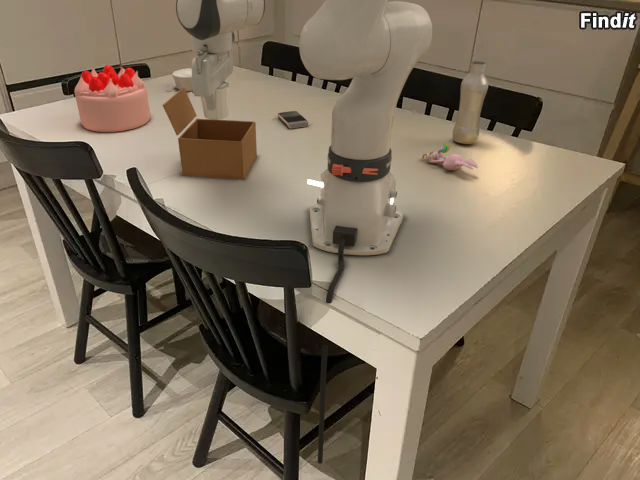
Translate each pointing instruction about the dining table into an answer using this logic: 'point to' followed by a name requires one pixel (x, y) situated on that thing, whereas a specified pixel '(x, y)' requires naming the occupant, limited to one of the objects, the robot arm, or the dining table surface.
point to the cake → (112, 100)
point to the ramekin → (183, 79)
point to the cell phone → (292, 119)
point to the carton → (218, 148)
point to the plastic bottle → (471, 104)
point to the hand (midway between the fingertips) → (216, 105)
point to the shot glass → (218, 103)
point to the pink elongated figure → (449, 159)
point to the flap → (179, 111)
